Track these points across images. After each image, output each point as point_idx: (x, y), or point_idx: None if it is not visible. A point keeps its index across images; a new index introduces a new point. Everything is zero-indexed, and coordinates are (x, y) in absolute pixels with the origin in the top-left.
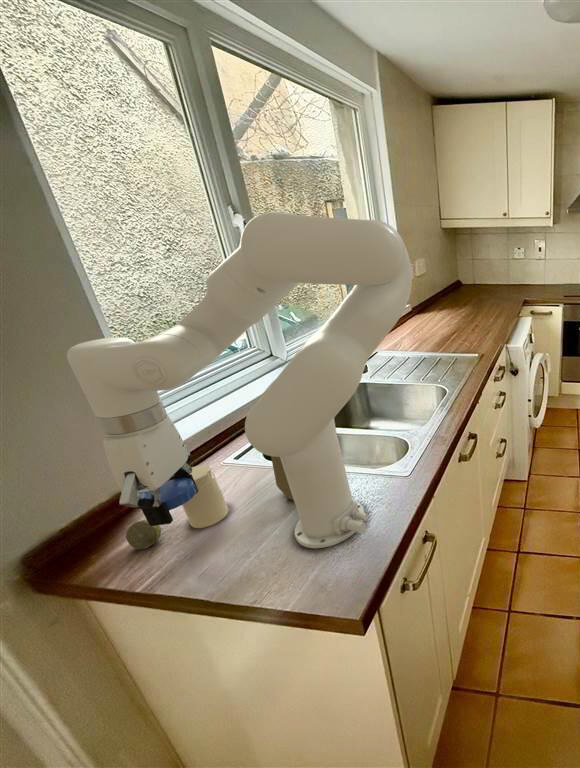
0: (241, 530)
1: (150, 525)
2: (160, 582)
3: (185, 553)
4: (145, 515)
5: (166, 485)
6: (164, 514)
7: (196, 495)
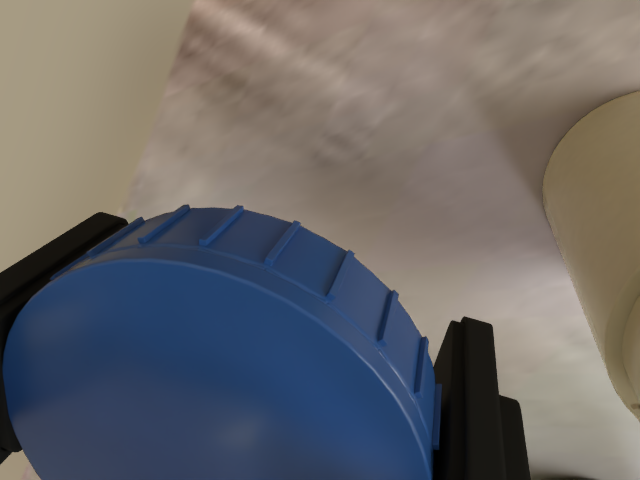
0: (417, 326)
1: (102, 214)
2: (212, 79)
3: (363, 131)
4: (30, 260)
5: (315, 449)
6: None
7: (590, 311)
